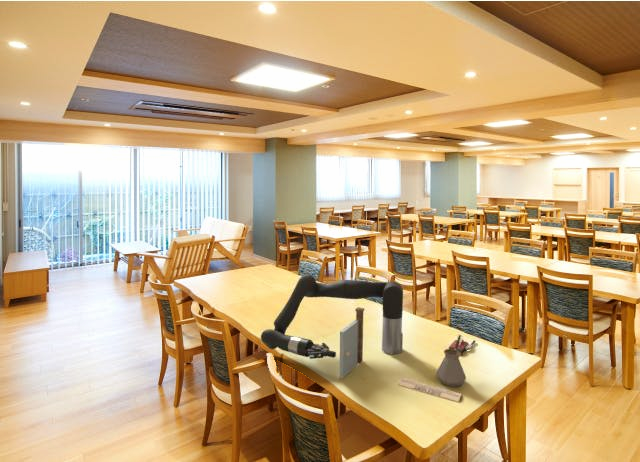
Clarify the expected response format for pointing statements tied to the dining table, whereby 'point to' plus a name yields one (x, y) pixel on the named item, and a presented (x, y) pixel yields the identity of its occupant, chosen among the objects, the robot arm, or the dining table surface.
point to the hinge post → (360, 332)
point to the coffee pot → (451, 367)
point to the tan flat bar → (430, 389)
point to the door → (348, 348)
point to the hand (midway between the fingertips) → (335, 354)
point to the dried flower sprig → (462, 346)
